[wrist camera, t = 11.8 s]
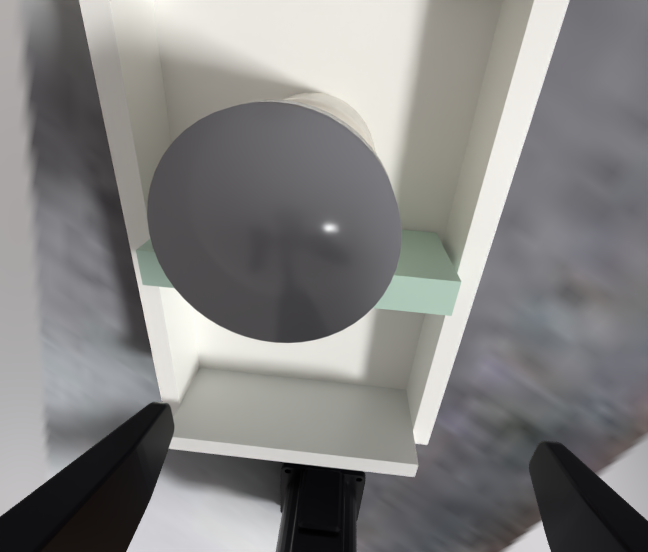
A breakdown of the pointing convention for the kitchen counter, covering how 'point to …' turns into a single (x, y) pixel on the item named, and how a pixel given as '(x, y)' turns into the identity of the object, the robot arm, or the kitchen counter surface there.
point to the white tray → (398, 160)
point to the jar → (277, 218)
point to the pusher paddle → (405, 288)
